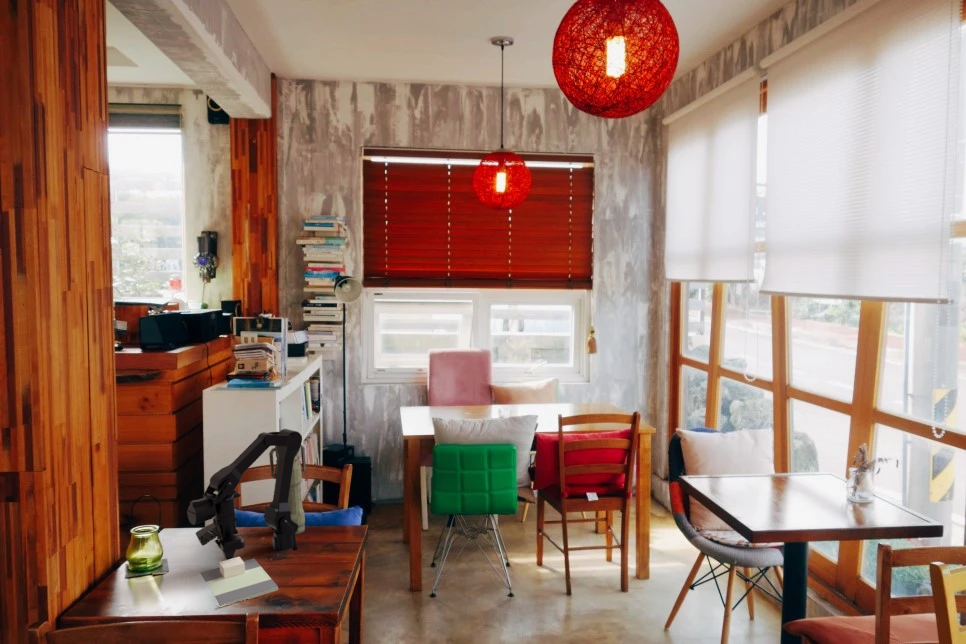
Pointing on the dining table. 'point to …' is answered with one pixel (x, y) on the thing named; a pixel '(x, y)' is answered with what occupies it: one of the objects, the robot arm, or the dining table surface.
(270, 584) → the mats
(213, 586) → the board
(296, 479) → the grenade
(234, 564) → the cream block
